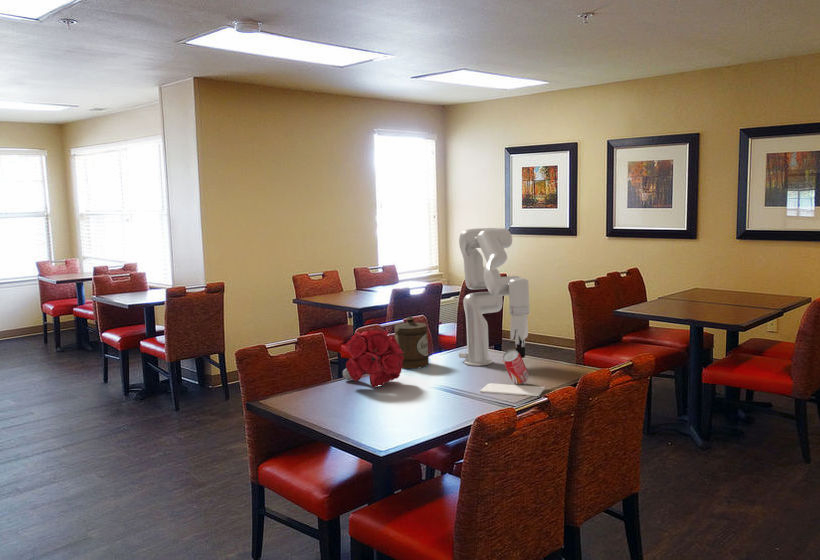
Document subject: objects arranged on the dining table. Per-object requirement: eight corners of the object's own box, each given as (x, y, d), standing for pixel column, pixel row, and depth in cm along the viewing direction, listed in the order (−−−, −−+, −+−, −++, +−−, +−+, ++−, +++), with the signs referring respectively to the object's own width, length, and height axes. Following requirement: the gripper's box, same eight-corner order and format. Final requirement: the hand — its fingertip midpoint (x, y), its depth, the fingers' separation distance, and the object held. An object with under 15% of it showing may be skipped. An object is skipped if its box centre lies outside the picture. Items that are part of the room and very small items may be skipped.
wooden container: (428, 368, 289) (426, 318, 287) (394, 369, 290) (392, 320, 287) (428, 360, 304) (426, 313, 302) (396, 361, 304) (394, 314, 302)
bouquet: (336, 404, 263) (382, 376, 245) (316, 350, 270) (360, 319, 252) (374, 395, 279) (421, 368, 261) (355, 344, 286) (399, 315, 268)
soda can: (531, 372, 257) (521, 348, 251) (526, 386, 253) (516, 361, 246) (515, 372, 261) (504, 348, 255) (509, 385, 256) (499, 361, 250)
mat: (480, 392, 248) (480, 390, 248) (488, 384, 258) (488, 383, 258) (538, 396, 239) (538, 394, 239) (544, 388, 249) (544, 387, 249)
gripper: (514, 307, 262) (515, 352, 264) (504, 313, 248) (506, 361, 250) (533, 307, 259) (534, 353, 261) (524, 313, 245) (525, 362, 247)
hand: (520, 357), depth 255 cm, fingers closed
